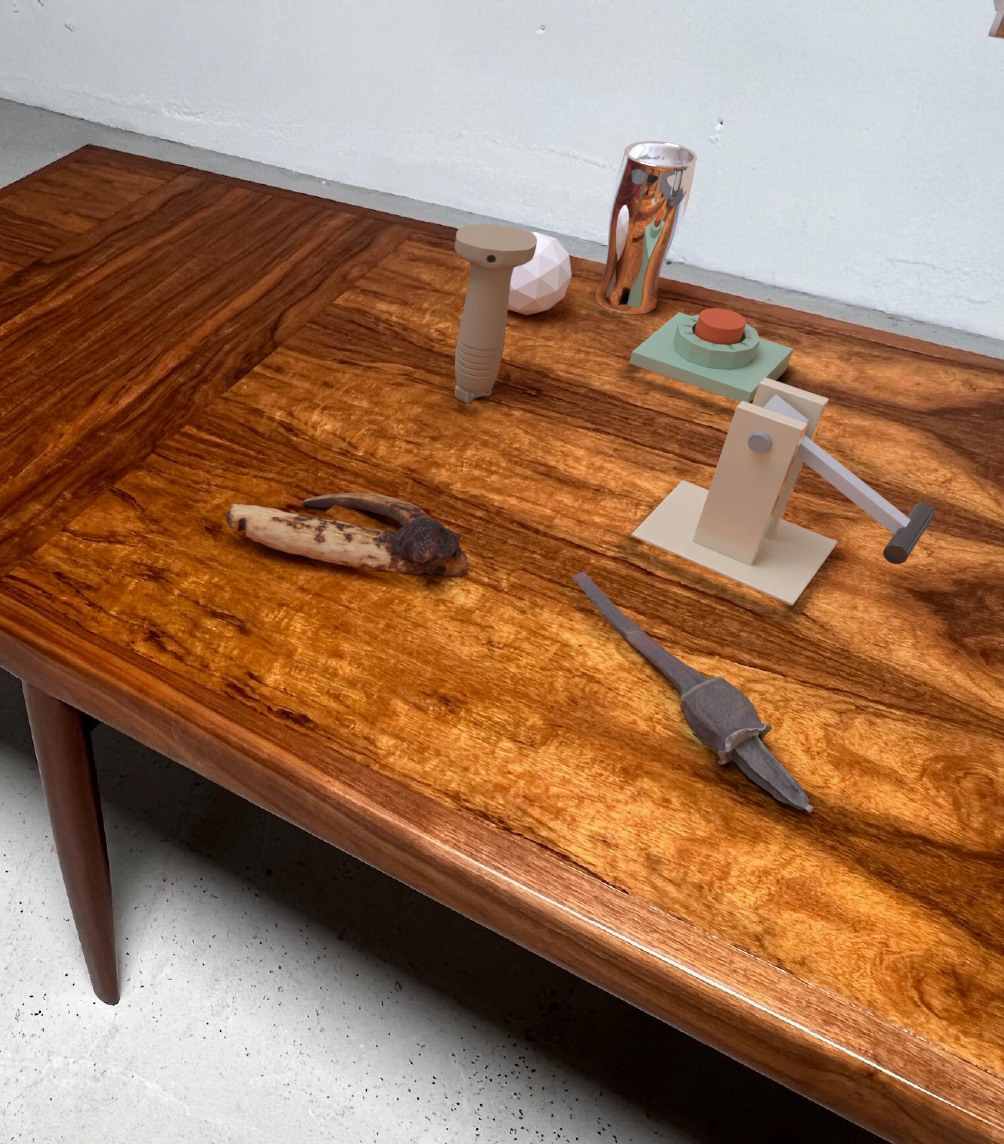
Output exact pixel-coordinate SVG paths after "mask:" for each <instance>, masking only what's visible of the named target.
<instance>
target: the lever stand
mask: <svg viewBox="0 0 1004 1144" xmlns="http://www.w3.org/2000/svg"><path fill="white" fill-rule="evenodd" d="M775 394H777V395H778V396H779V397H780V398H782V399H783V400H784V401H785V402H787V403H788V404H789V405H790V406H792V407H793V408H794V409H796V410H797V411H798V412H799V413H801V414H802V415H803V416H804V417H806V418H807V419H808V420H809V421H808V422H807V423H805V422H802V421H799V420H796V419H793V418H790V417H788V416H785V415H782V414H779V413H776V412H773V411H770V410H768V409H765V408H763V407H764V406H765V404H766V403H767V402H768V401H769V400H770V399H771V398H772V397H773V396H774V395H775ZM829 401H830V398H828V397H825V396H822V395H819V394H816V393H813V392H810V391H807V390H804V389H801V388H799V387H795V386H792V385H790V384H787V383H783V382H780V381H777V380H776V381H775V380H772V379H769V378H766V377H765V378H764V379H763V380H762V381H761V382H760V383H759V386H758V389H757V392H756V395H755V398H754V401H753V400H752V403H751V402H749V403H748V402H745V401H742V402H739V403H738V404H737V406H736V407H735V410H734V413H733V417H732V419H731V422H730V425H729V428H728V431H727V434H726V438H725V441H724V443H723V447H722V449H721V453H720V455H719V459H718V461H717V465H716V468H715V470H714V473H713V476H712V479H711V483H710V486H709V489H707V488H705V487H702V486H699V485H697V484H695V483H692V482H689V481H687V480H684V479H682V480H681V481H680V482H679V483H678V484H677V485H676V487H674V488H673V490H672V491H671V492H670V493H669V494H668V495H667V496H666V497H665V498H664V499H663V500H662V501H661V502H660V503H659V504H658V505H657V506H656V508H654V510H653V511H651V513H649V515H648V516H647V517H646V518H645V519H644V520H643V521H642V522H641V523H639V525H638V527H636V529H635V530H634V531H633V532H632V533H631V534H630V536H631V537H632V538H635V539H637V540H640V541H641V542H644V543H647V544H649V545H650V546H653V547H656V548H658V549H661V550H662V551H665V552H667V553H670V554H672V555H674V556H676V557H678V558H681V559H683V560H685V561H687V562H690V563H692V564H695V565H697V566H699V567H701V568H704V569H706V570H709V571H711V572H713V573H715V574H718V575H720V576H722V577H725V578H727V579H730V580H732V581H733V582H736V583H739V584H741V585H744V586H745V587H748V588H750V589H753V590H755V591H757V592H759V593H762V594H763V595H766V596H768V597H771V598H773V599H775V600H778V601H780V602H782V603H784V604H787V605H789V606H793V607H794V605H795V604H796V602H797V601H798V600H799V598H800V597H801V596H802V594H803V593H804V590H805V589H806V588H807V587H808V585H809V584H810V583H811V581H812V580H813V579H814V577H815V576H816V575H817V573H818V572H819V570H820V569H821V567H822V566H823V565H824V563H825V562H826V560H827V559H828V558H829V556H830V555H831V553H832V552H833V550H834V549H836V547H837V545H838V543H839V541H838V540H835V539H833V538H831V537H828V536H825V535H822V534H821V533H818V532H816V531H813V530H810V529H808V528H805V527H802V526H800V525H798V524H795V523H793V522H790V521H788V520H785V519H784V515H785V514H786V510H787V508H788V505H789V503H790V501H791V498H792V495H793V493H794V490H795V488H796V485H797V482H798V480H799V479H800V476H801V472H802V469H803V468H804V465H805V463H804V462H803V461H802V460H800V459H799V458H798V457H797V456H796V454H797V451H798V448H799V446H800V443H801V441H802V438H803V435H805V436H807V437H808V438H809V439H810V440H812V441H813V442H814V439H815V436H816V434H817V431H818V429H819V426H820V424H821V421H822V419H823V416H824V413H825V411H826V408H827V406H828V404H829Z"/></svg>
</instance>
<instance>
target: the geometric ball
mask: <svg viewBox="0 0 1004 1144" xmlns="http://www.w3.org/2000/svg"><path fill="white" fill-rule="evenodd" d="M531 233H533V234H534V235H535V236H536V238H537V244H536V250H535V254H534V257H533V259H532V260H531V261H529V262H528V263H526V264H524V265H520V266H517V267H515V268H514V269H513V273H512V277H511V283H510V292H509V301H508V310H507V311H512V312H514V313H517V314H520V315H525V316H530V315H534V314H538V313H541V312H546V311H549V310H550V309H552V308H553V307H554V306H555V305H557V304H558V303H559V302H560V301H561V300H563V299H564V298H565V297H566V295H567V294H566V293H567V290H568V287H569V284H570V282H571V279H572V276H573V275H572V274H573V273H572V267H571V266H572V265H571V259H570V254H569V253H568V251H567V250H566V248H564V246H563V245H562V243H560V242H559V240H558V239H557V238H556V237H553V236H550V235H547V234H543V233H541V232H537V231H533V232H531Z"/></svg>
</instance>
